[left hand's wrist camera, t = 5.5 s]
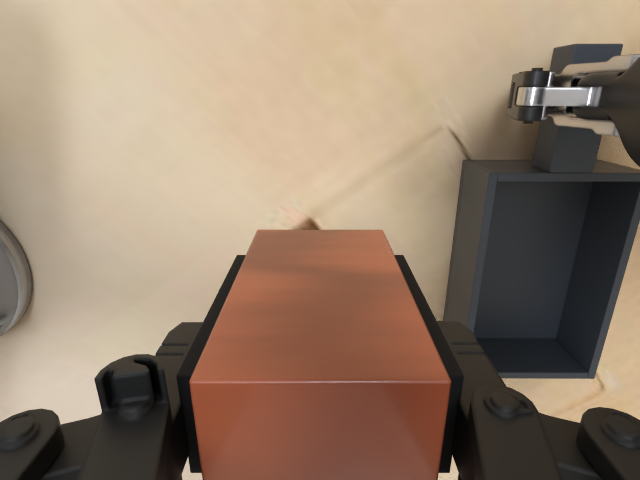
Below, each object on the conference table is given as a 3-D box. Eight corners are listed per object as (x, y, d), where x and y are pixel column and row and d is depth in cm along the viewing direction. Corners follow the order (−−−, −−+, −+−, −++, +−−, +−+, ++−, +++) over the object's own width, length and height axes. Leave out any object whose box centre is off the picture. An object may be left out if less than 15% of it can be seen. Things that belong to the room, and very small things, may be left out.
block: (262, 337, 16) (212, 557, 8) (256, 229, 14) (187, 380, 7) (377, 337, 16) (428, 557, 8) (383, 229, 14) (453, 381, 7)
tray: (440, 339, 39) (459, 378, 34) (476, 52, 30) (508, 43, 25) (557, 340, 39) (594, 378, 34) (626, 52, 30) (690, 43, 25)
